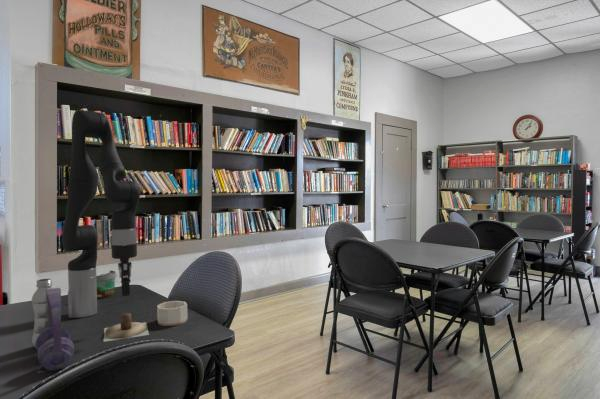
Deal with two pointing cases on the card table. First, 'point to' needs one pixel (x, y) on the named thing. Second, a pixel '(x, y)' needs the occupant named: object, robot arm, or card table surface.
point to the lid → (125, 328)
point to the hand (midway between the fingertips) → (125, 292)
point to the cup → (172, 313)
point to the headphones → (54, 336)
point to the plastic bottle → (40, 308)
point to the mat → (124, 338)
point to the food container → (106, 284)
